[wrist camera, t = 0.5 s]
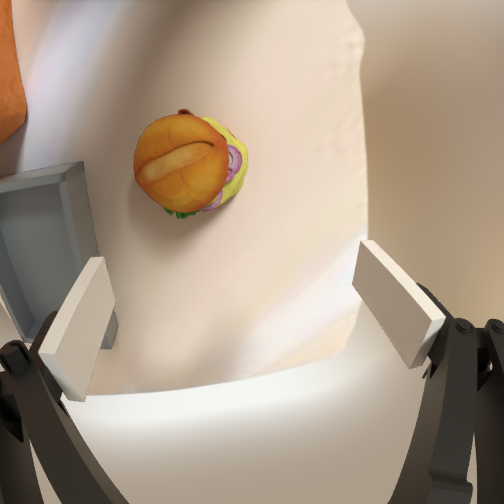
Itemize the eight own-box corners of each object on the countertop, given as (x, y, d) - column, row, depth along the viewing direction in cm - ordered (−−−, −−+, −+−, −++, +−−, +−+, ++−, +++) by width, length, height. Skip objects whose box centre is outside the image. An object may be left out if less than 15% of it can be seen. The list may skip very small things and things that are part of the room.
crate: (-11, 179, 27) (-32, 192, 22) (83, 161, 29) (65, 171, 24) (34, 322, 38) (23, 342, 34) (118, 325, 40) (111, 349, 36)
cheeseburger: (215, 223, 35) (194, 255, 26) (143, 173, 33) (100, 188, 24) (266, 152, 31) (263, 157, 22) (189, 101, 30) (155, 88, 21)
